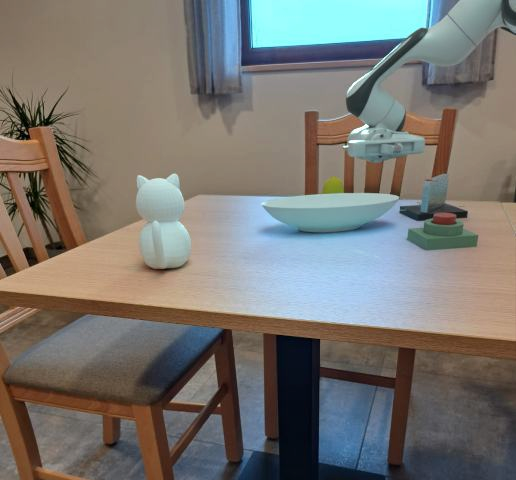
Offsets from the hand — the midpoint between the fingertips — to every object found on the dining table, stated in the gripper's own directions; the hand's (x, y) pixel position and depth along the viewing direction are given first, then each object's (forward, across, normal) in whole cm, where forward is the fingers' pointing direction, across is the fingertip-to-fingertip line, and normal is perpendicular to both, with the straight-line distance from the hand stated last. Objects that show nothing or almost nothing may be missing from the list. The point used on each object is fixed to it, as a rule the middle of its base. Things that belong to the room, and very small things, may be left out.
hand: (397, 149), depth 116 cm
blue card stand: (+15, +4, +12) cm, 20 cm away
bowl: (+21, -23, +14) cm, 34 cm away
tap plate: (+15, +4, +14) cm, 21 cm away
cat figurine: (+39, -58, +14) cm, 71 cm away
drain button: (+38, -6, +10) cm, 40 cm away
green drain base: (+38, -6, +14) cm, 41 cm away
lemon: (0, -16, +14) cm, 21 cm away
